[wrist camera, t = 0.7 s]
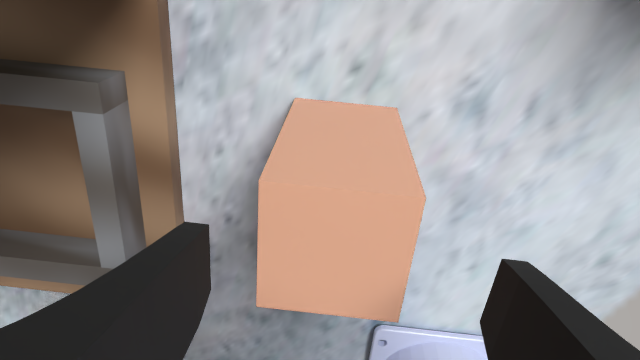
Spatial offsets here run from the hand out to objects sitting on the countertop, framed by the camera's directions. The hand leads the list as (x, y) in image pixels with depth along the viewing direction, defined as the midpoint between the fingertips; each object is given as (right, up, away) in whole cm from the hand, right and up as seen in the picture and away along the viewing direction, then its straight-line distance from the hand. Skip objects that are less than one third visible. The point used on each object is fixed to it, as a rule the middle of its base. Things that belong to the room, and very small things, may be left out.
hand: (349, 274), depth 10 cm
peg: (0, +4, +9) cm, 9 cm away
